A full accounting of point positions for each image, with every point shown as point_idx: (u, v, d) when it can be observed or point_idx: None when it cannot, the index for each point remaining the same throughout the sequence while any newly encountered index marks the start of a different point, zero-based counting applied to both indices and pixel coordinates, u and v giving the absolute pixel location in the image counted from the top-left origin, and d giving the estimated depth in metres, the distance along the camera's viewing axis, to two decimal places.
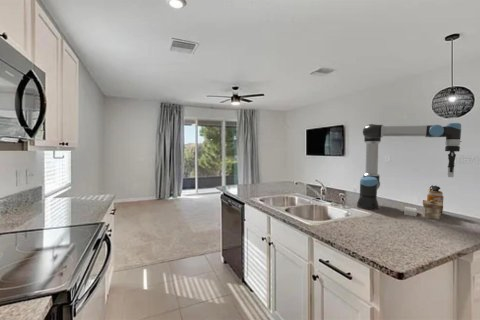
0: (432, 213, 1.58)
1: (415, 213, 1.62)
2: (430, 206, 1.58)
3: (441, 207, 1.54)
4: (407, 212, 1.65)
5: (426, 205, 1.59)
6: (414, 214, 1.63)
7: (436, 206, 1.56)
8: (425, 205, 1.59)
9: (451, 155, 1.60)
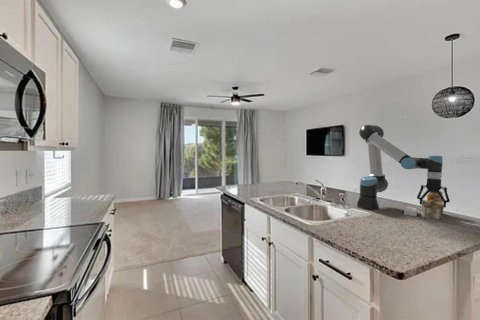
0: (432, 213, 1.58)
1: (415, 213, 1.62)
2: (430, 206, 1.58)
3: (441, 207, 1.54)
4: (407, 212, 1.65)
5: (426, 205, 1.59)
6: (414, 214, 1.63)
7: (436, 206, 1.56)
8: (425, 205, 1.59)
9: None
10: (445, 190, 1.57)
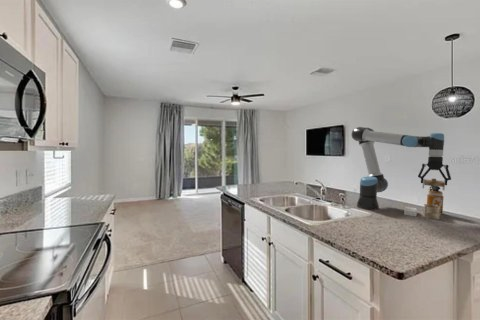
0: (432, 213, 1.58)
1: (415, 213, 1.62)
2: (431, 184, 1.57)
3: (442, 184, 1.54)
4: (407, 212, 1.65)
5: (427, 183, 1.58)
6: (414, 214, 1.63)
7: (437, 183, 1.55)
8: (426, 183, 1.58)
9: (422, 166, 1.65)
10: (446, 168, 1.56)
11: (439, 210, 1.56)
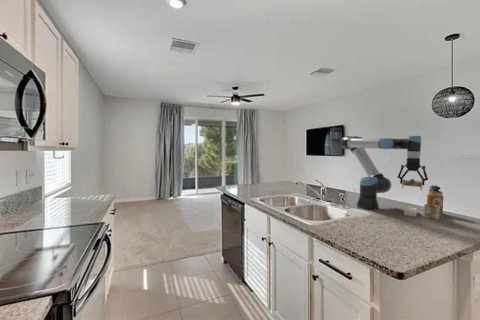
0: (432, 213, 1.58)
1: (415, 213, 1.62)
2: (409, 184, 1.64)
3: (419, 184, 1.60)
4: (407, 212, 1.65)
5: (405, 183, 1.65)
6: (414, 214, 1.63)
7: (415, 184, 1.62)
8: (404, 183, 1.65)
9: (401, 167, 1.72)
10: (423, 168, 1.63)
11: (439, 210, 1.56)
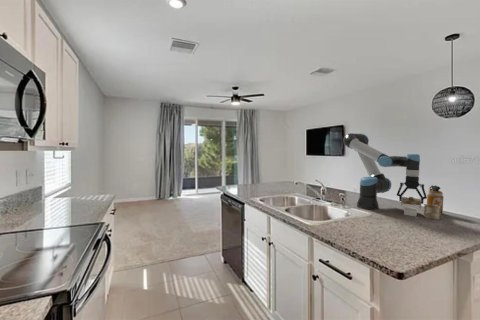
0: (432, 213, 1.58)
1: (415, 213, 1.62)
2: (408, 202, 1.64)
3: (418, 203, 1.61)
4: (407, 212, 1.65)
5: (404, 201, 1.65)
6: (414, 214, 1.63)
7: (414, 202, 1.62)
8: (404, 201, 1.66)
9: (400, 185, 1.72)
10: (422, 187, 1.64)
11: (439, 210, 1.56)
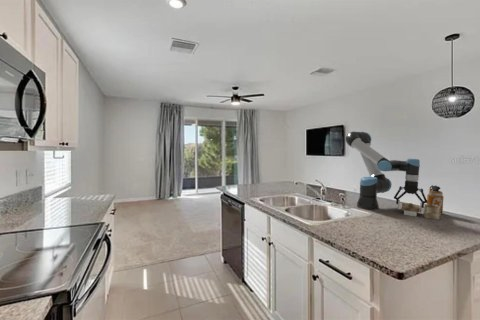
0: (432, 213, 1.58)
1: (415, 213, 1.62)
2: (407, 209, 1.65)
3: (418, 210, 1.61)
4: (407, 212, 1.65)
5: (404, 208, 1.66)
6: (414, 214, 1.63)
7: (413, 209, 1.63)
8: (403, 208, 1.66)
9: (399, 188, 1.73)
10: (422, 191, 1.64)
11: (439, 210, 1.56)
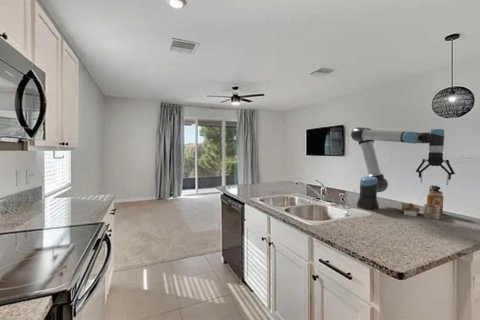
0: (432, 213, 1.58)
1: (415, 213, 1.62)
2: (407, 209, 1.65)
3: (418, 210, 1.61)
4: (407, 212, 1.65)
5: (404, 208, 1.66)
6: (414, 214, 1.63)
7: (413, 209, 1.63)
8: (403, 208, 1.66)
9: (422, 161, 1.65)
10: (447, 162, 1.56)
11: (439, 210, 1.56)
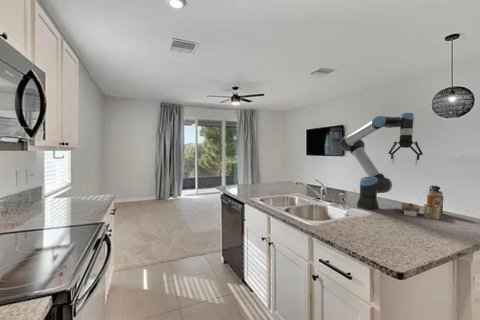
0: (432, 213, 1.58)
1: (415, 213, 1.62)
2: (407, 209, 1.65)
3: (418, 210, 1.61)
4: (407, 212, 1.65)
5: (404, 208, 1.66)
6: (414, 214, 1.63)
7: (413, 209, 1.63)
8: (403, 208, 1.66)
9: (394, 143, 1.75)
10: (416, 144, 1.66)
11: (439, 210, 1.56)
